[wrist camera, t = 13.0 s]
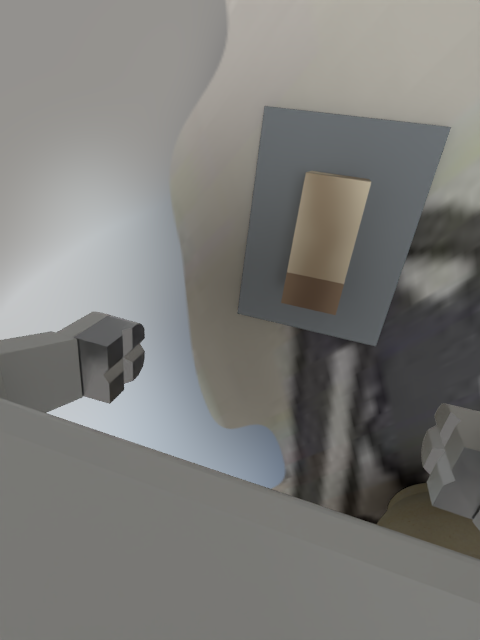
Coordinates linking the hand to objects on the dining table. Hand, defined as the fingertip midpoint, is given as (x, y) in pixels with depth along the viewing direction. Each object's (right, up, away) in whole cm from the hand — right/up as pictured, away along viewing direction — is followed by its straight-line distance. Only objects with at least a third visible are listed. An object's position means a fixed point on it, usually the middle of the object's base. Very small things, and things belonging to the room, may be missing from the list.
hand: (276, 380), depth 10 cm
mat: (+6, +8, +18) cm, 20 cm away
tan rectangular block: (+5, +8, +17) cm, 20 cm away
